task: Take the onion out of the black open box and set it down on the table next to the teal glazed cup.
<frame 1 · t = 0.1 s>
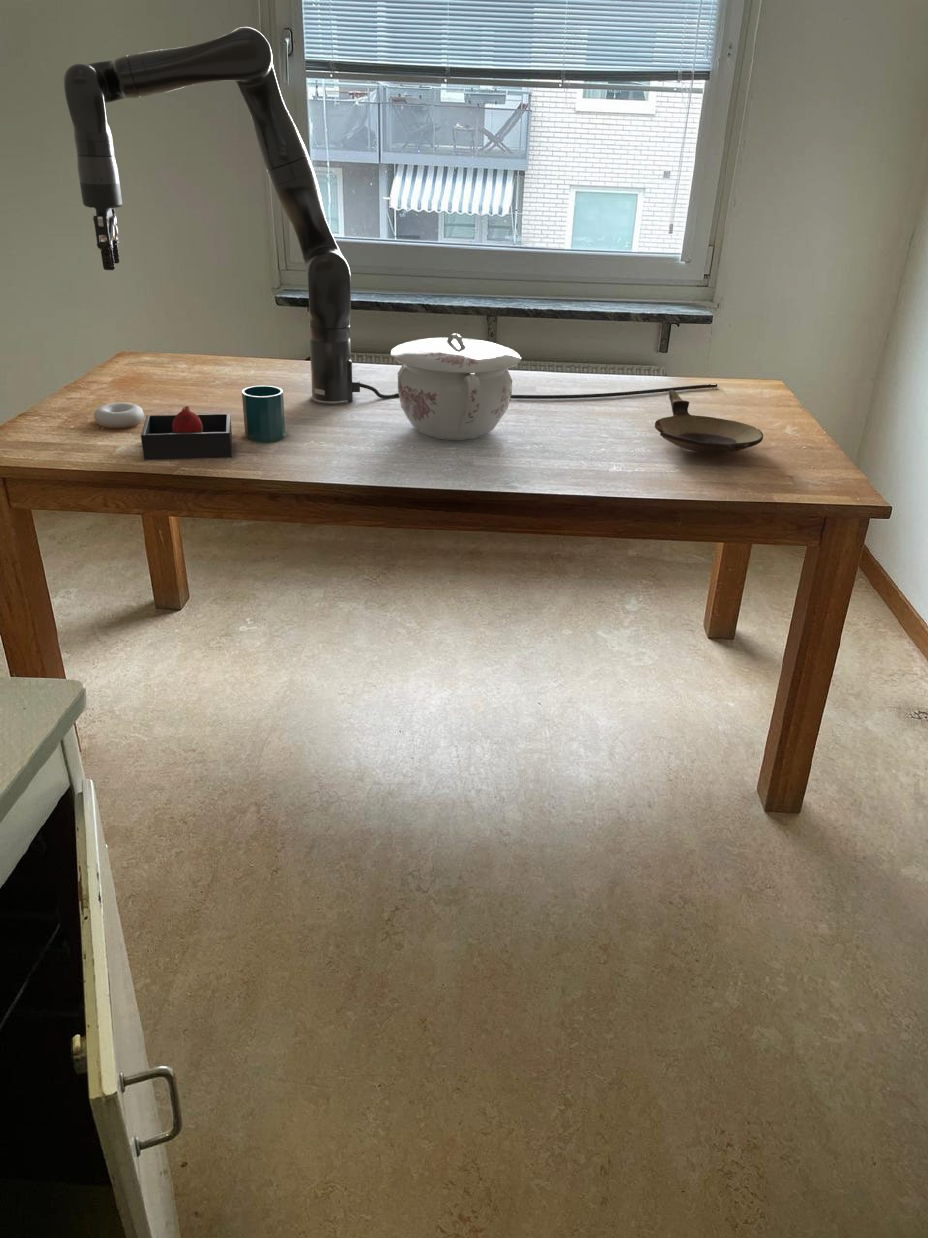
hand: (112, 266, 187), 29 cm above the table, tool pointing down, fingers open, 8 cm apart
donut: (120, 423, 190), on the table
frying pan: (703, 446, 194), on the table
cup: (265, 436, 187), on the table
chamber pot: (452, 431, 195), on the table
onion: (189, 446, 179), resting on black open box
black open box: (189, 447, 179), on the table
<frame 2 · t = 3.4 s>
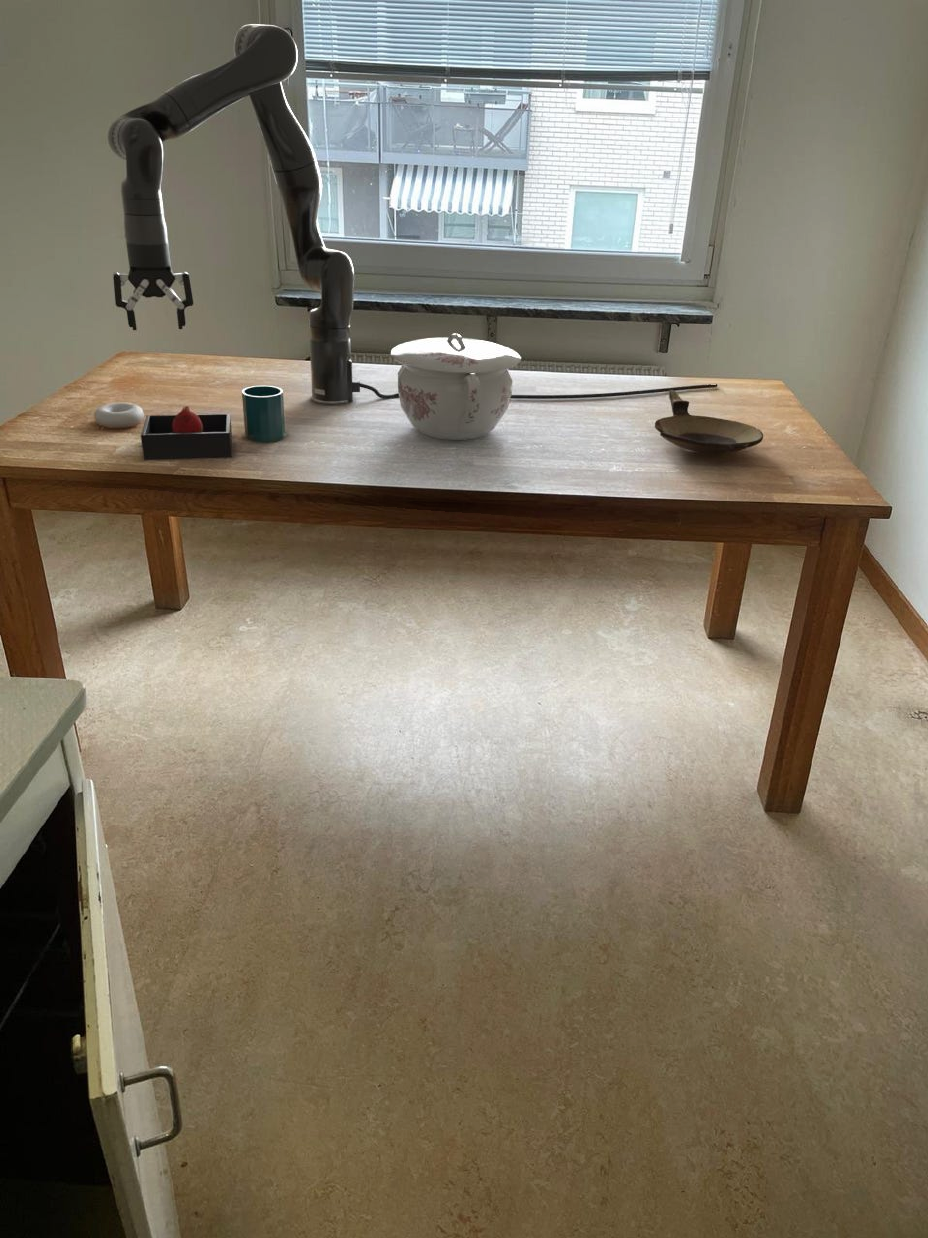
hand: (158, 328, 175), 21 cm above the table, tool pointing down, fingers open, 8 cm apart
nothing on the table moved.
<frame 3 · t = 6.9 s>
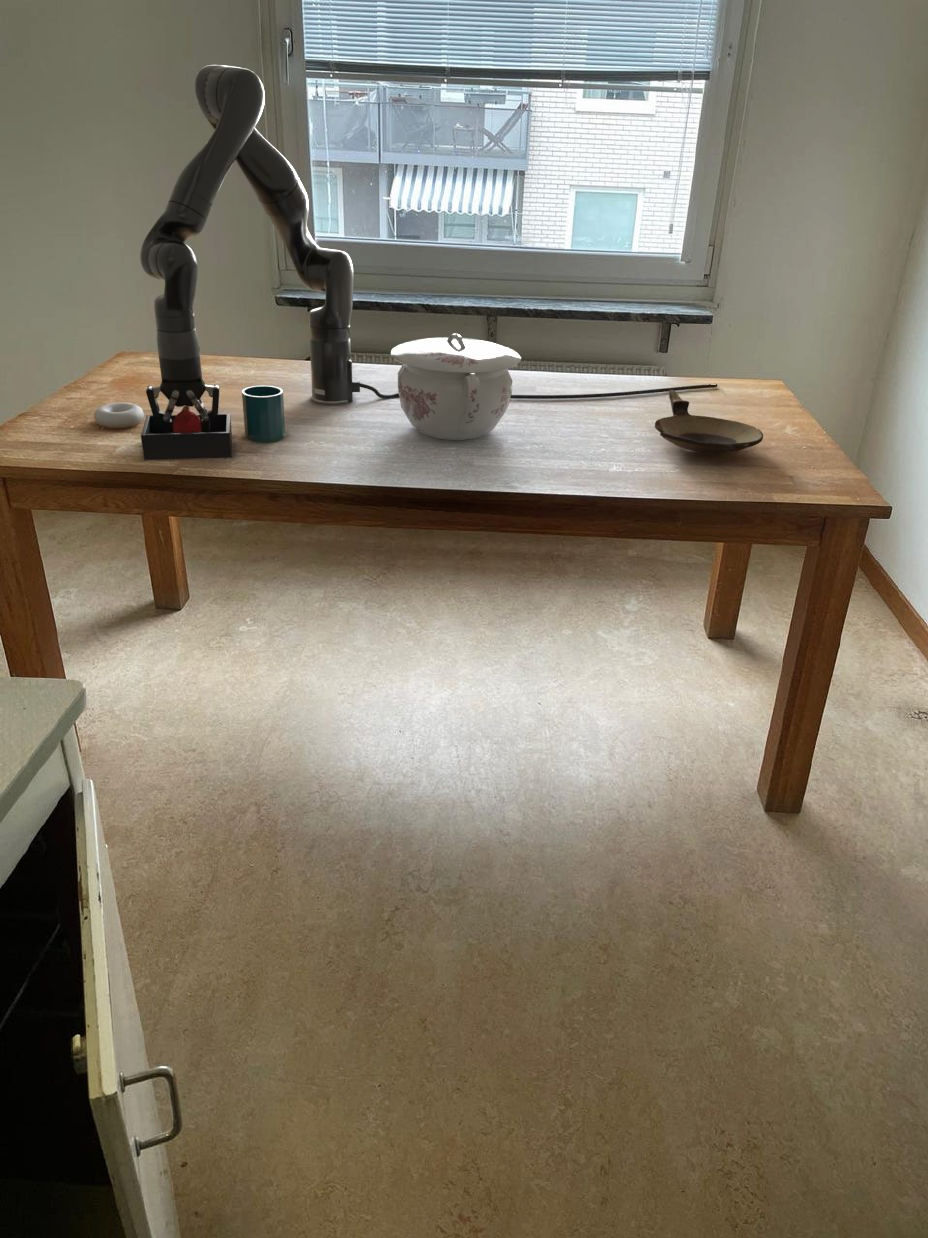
hand: (188, 437, 178), 2 cm above the table, tool pointing down, fingers closed on onion, 6 cm apart
onion: (189, 446, 179), resting on black open box, touching gripper
everything else where it was.
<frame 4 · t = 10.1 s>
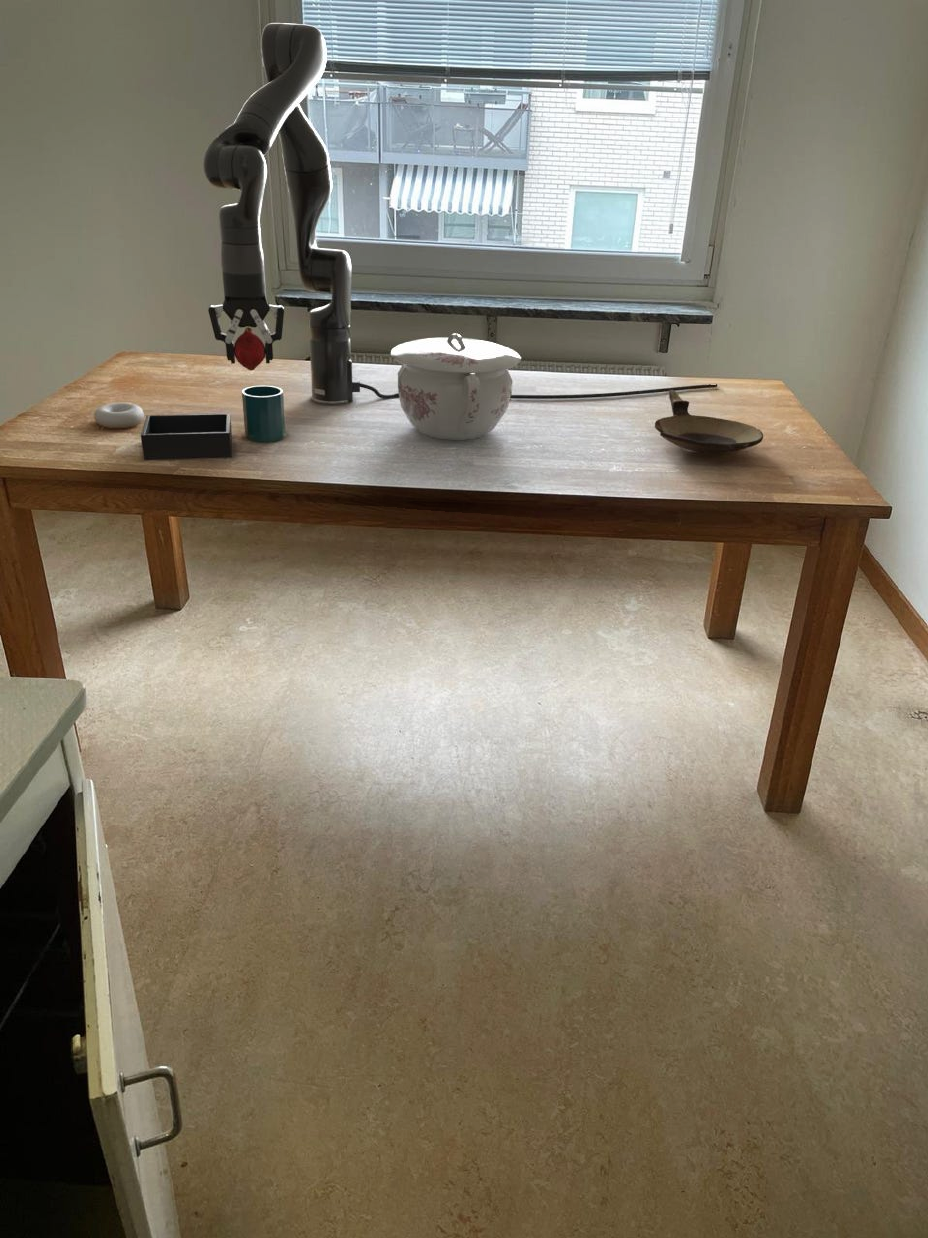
hand: (250, 362, 170), 18 cm above the table, tool pointing down, fingers closed on onion, 6 cm apart
onion: (251, 371, 171), point 16 cm above the table, touching gripper
everything else where it was.
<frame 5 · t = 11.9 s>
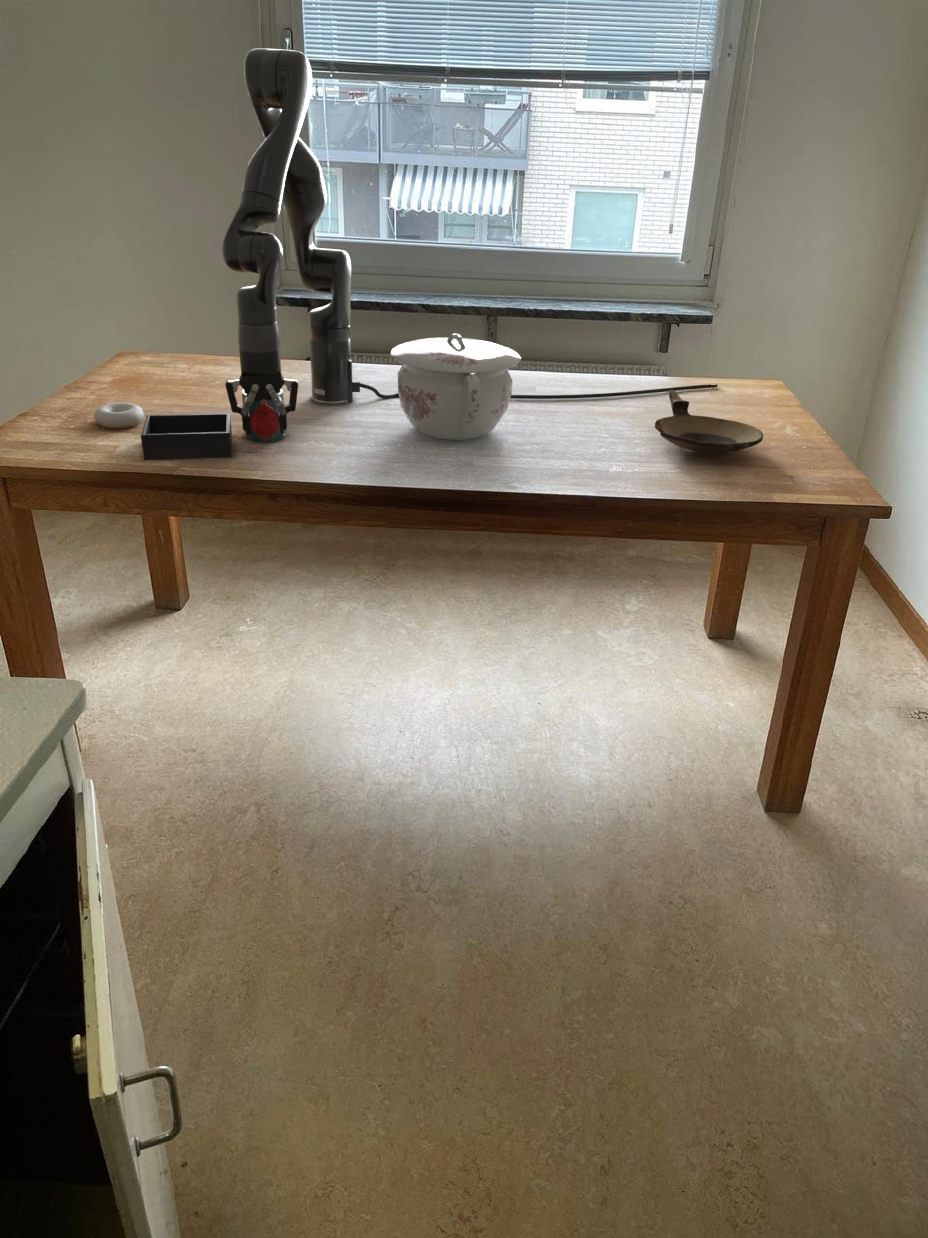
hand: (265, 432, 176), 4 cm above the table, tool pointing down, fingers closed on onion, 6 cm apart
onion: (265, 440, 177), point 2 cm above the table, touching gripper
everything else where it was.
when the fingers open (2 cm above the table, at t = 13.3 s): onion stays where it is, on the table.
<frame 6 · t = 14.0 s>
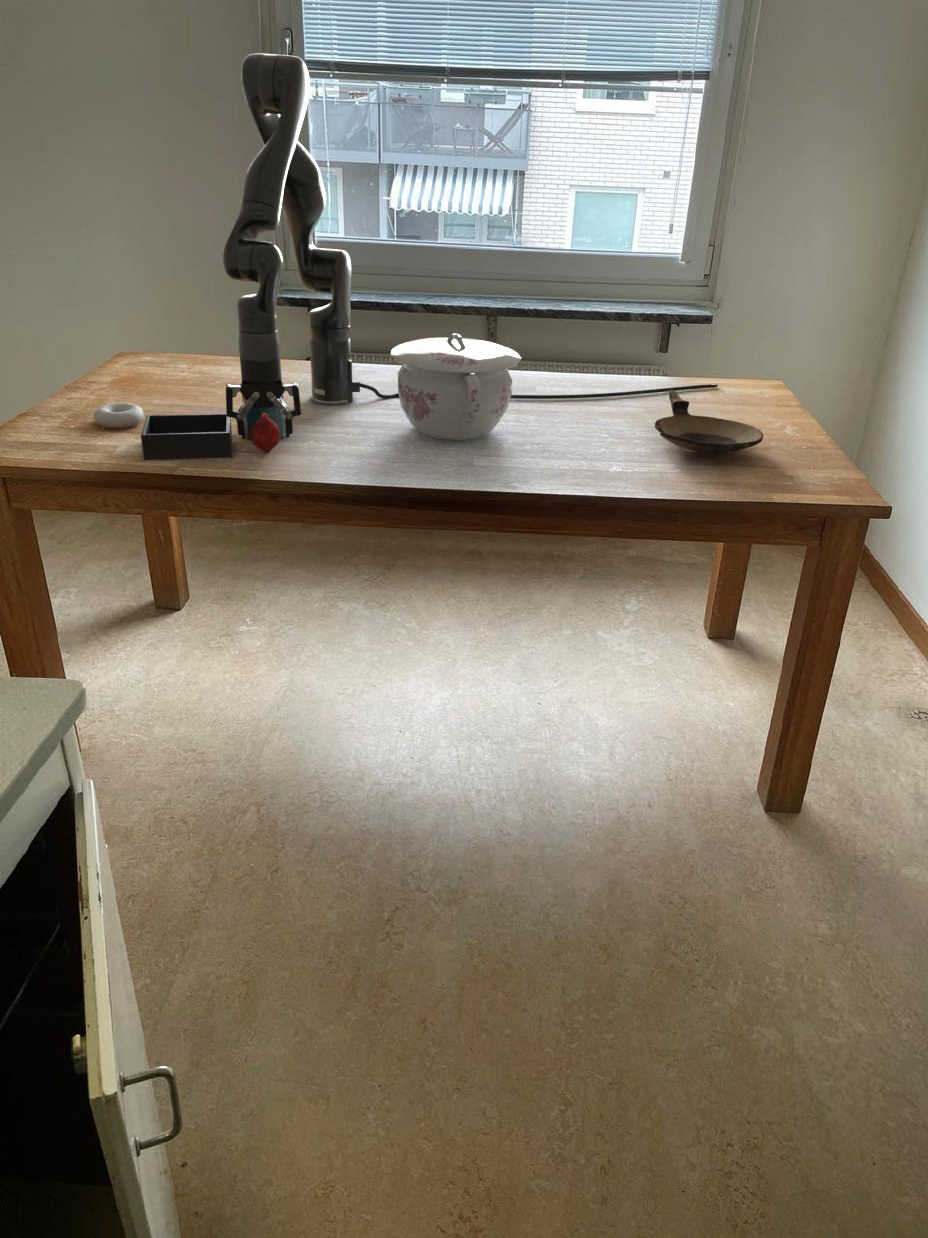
hand: (265, 436, 177), 3 cm above the table, tool pointing down, fingers open, 8 cm apart
onion: (266, 453, 179), on the table
everything else where it was.
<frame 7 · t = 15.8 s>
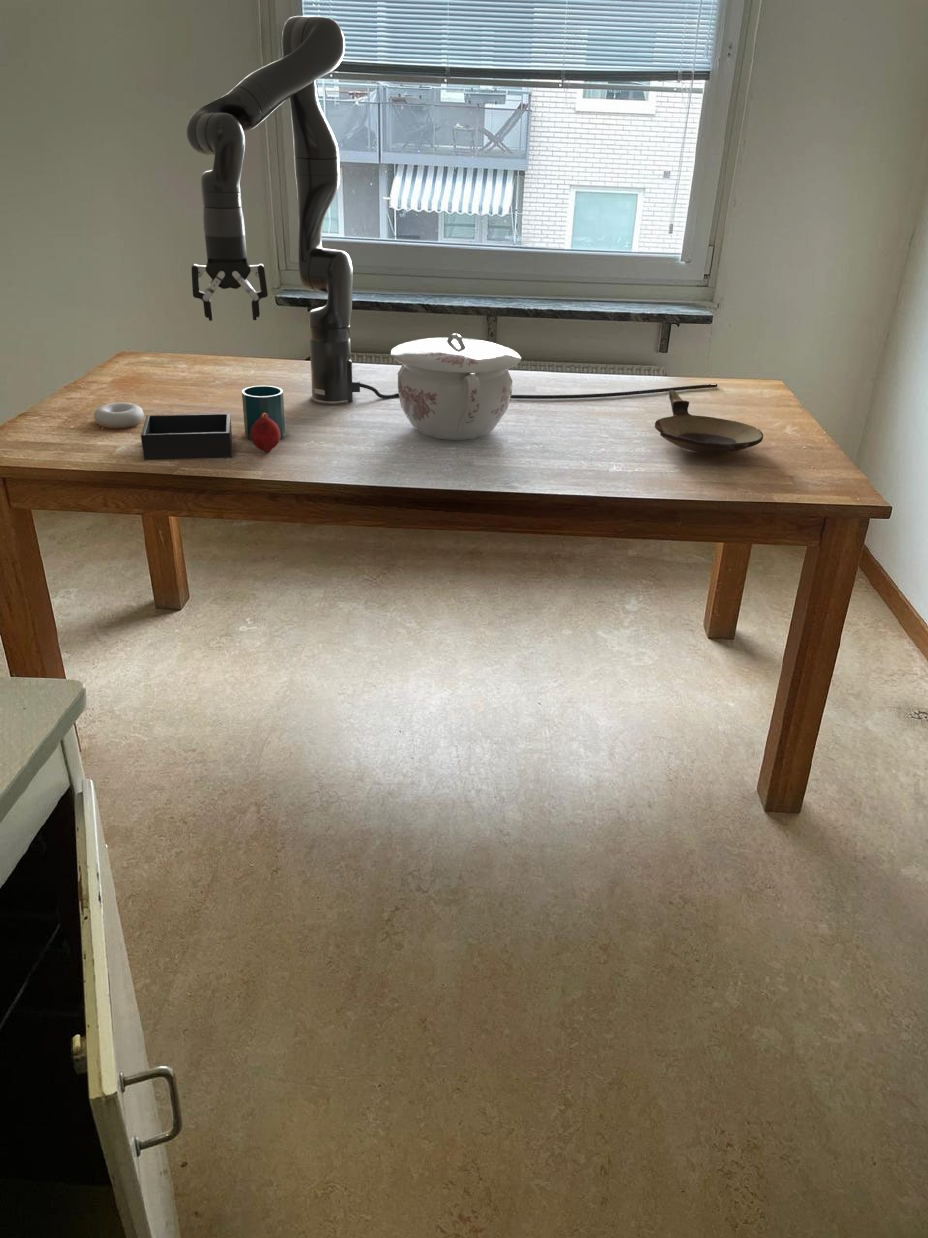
hand: (232, 319, 178), 23 cm above the table, tool pointing down, fingers open, 8 cm apart
nothing on the table moved.
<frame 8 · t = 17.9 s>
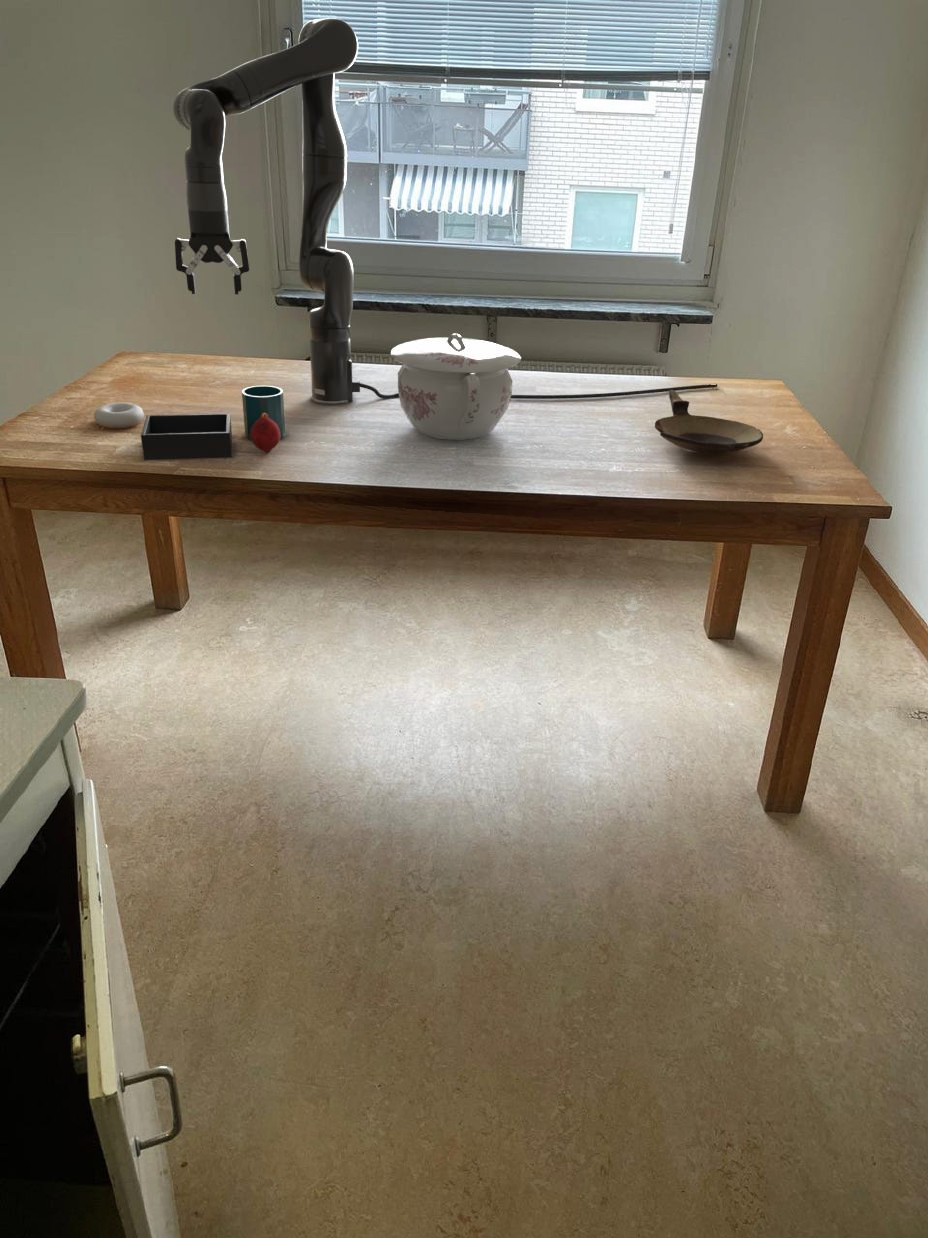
hand: (215, 293, 183), 26 cm above the table, tool pointing down, fingers open, 8 cm apart
nothing on the table moved.
at the end: onion inside the target area (0.5 cm from its centre), on the table; onion 10.0 cm from the cup (horizontally); the gripper is holding nothing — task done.
